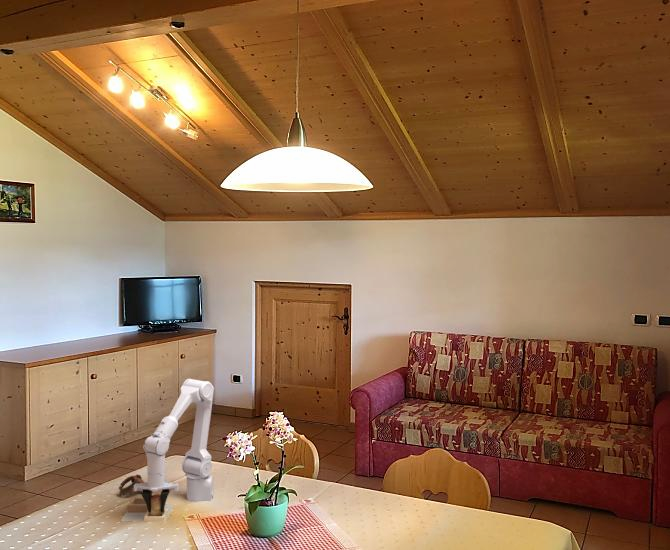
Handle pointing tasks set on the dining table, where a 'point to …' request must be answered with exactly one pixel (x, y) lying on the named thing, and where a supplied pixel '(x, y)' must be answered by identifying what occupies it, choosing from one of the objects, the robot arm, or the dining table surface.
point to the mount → (144, 511)
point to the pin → (156, 505)
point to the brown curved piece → (129, 489)
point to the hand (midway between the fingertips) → (156, 511)
